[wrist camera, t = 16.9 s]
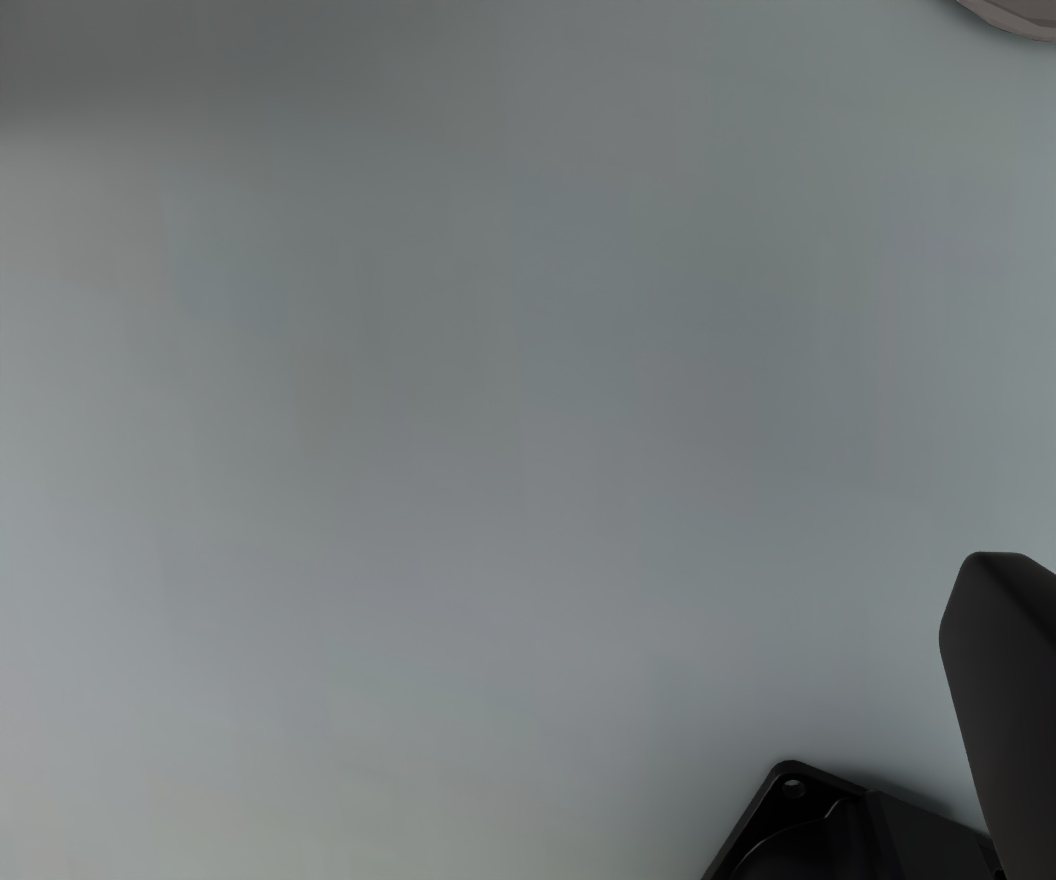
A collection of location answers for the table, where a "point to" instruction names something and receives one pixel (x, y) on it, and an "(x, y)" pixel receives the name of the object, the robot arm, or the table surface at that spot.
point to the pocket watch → (1018, 16)
